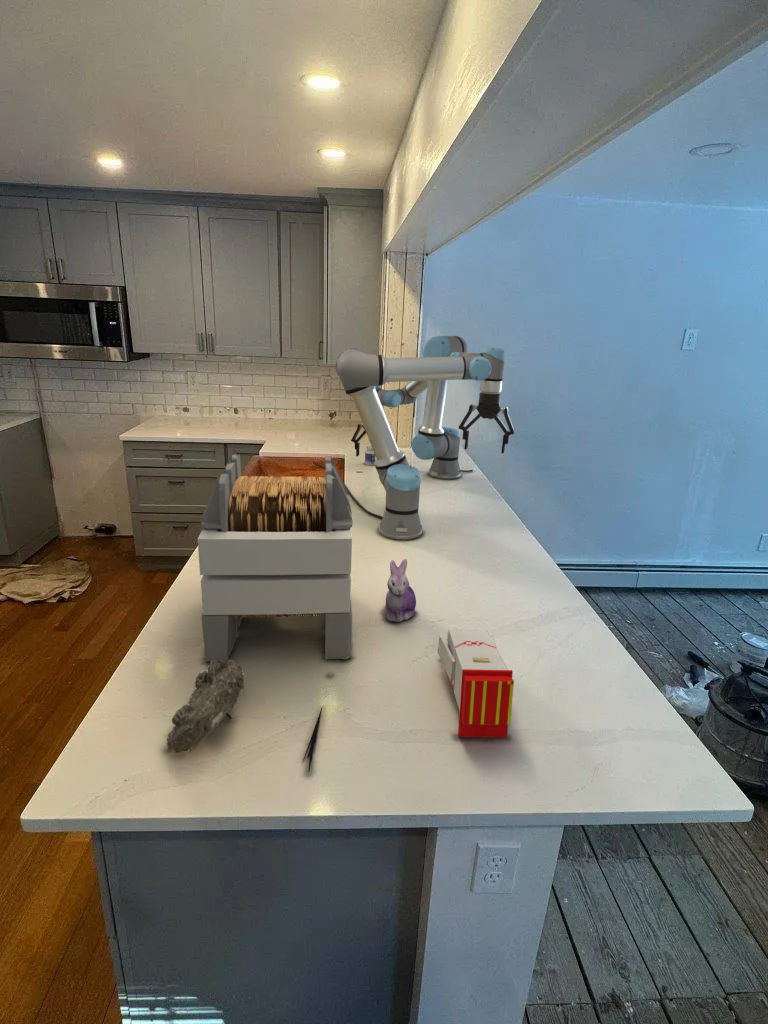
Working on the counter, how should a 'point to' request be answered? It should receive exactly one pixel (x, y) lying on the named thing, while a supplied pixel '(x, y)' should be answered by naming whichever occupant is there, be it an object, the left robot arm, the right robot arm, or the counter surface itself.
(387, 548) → the counter surface
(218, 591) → the record crate
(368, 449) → the pill bottle
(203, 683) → the fossil
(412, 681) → the counter surface
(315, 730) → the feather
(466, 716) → the toy
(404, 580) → the figurine
